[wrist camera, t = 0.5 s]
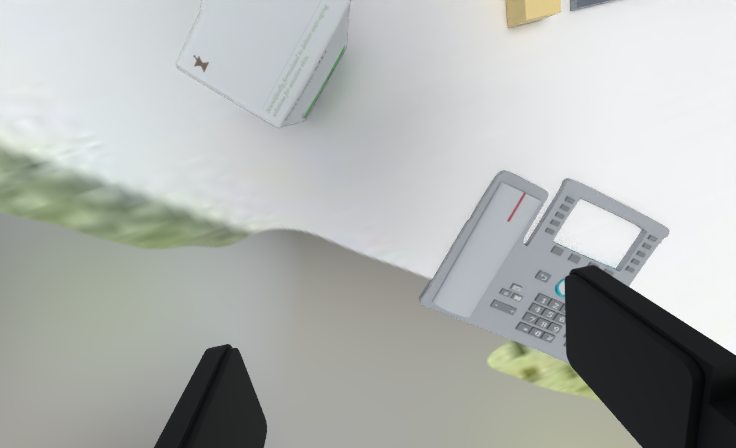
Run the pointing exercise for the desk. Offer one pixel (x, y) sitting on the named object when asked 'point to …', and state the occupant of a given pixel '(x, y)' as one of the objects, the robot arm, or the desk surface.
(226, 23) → the skincare box
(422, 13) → the desk surface
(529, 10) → the link
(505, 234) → the office telephone
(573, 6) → the pintle plate
